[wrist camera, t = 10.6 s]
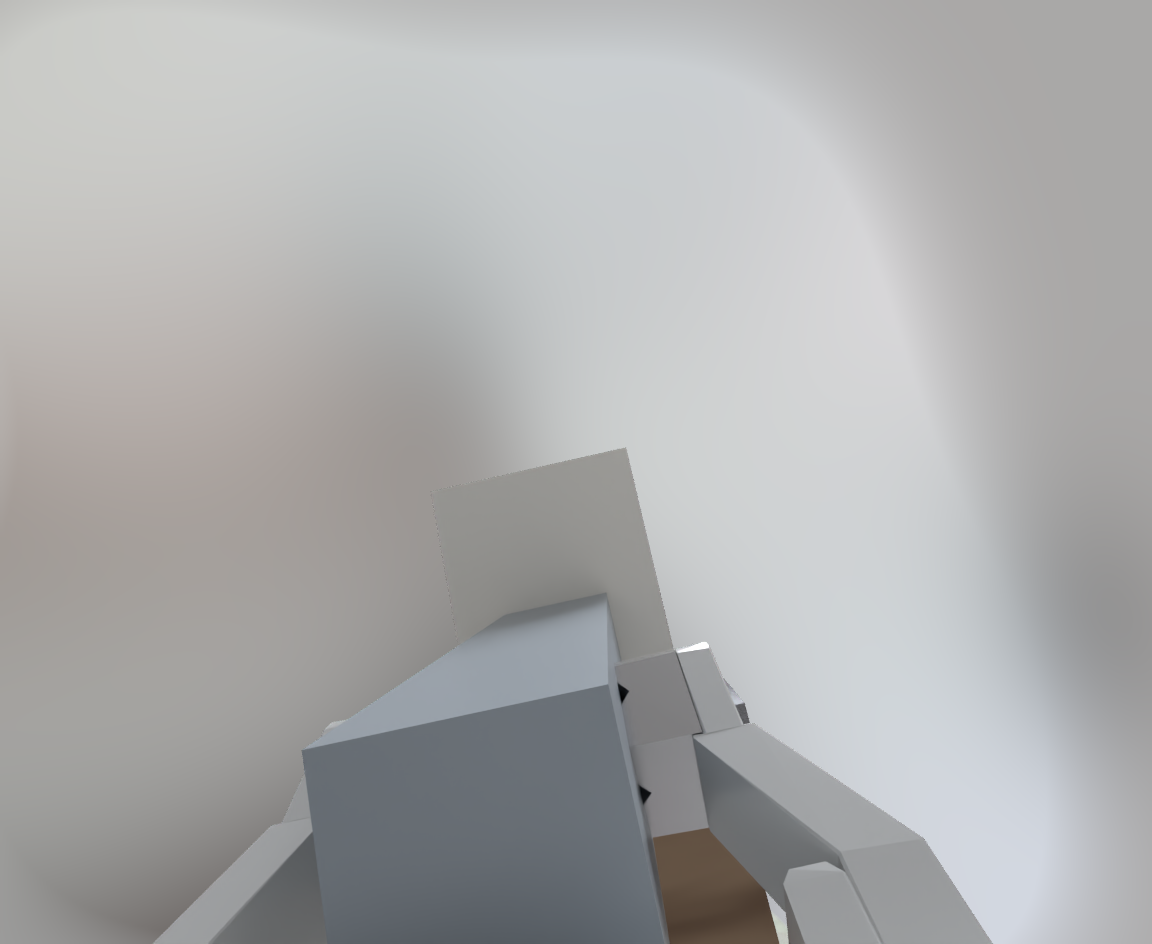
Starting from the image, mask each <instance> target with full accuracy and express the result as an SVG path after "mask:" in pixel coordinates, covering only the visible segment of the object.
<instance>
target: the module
mask: <svg viewBox="0 0 1152 944" xmlns="http://www.w3.org/2000/svg"><path fill="white" fill-rule="evenodd" d="M431 496H432V502H433V508H434V512H435V519H436V525H437V530H438V536H439V541H440V547H441V553H442V558H443V564H444V569H445V575H446V580H447V586H448V592H449V597H450V603H451V609H452V614H453V620H454V625H455V631H456V637H457V642H458V646H457V647H456V648H454V649H453V650H451V651H450V652H448V653H447V654H445V655H444V656H442V657H441V658H440V659H438V660H436V661H435V662H433V663H432V664H430V665H429V666H427V667H426V668H424V669H423V670H421V671H420V672H418V673H417V674H415V675H414V676H412V677H411V678H409V679H408V680H406V681H405V682H403V683H402V684H400V685H399V686H397V687H396V688H394V689H393V690H391V691H390V692H388V693H387V694H385V695H384V696H382V697H381V698H379V699H378V700H376V701H375V702H373V703H372V704H370V705H369V706H367V707H366V708H364V709H363V710H361V711H360V712H358V713H357V714H355V715H354V716H352V717H351V718H349V719H348V720H346V721H345V722H343V723H342V724H340V725H339V726H337V727H336V728H334V729H333V730H331V731H330V732H328V733H327V734H325V735H324V736H322V737H321V738H319V739H318V740H316V741H315V742H313V743H312V744H310V745H309V746H307V747H306V748H304V749H303V750H302V755H303V763H304V770H305V778H306V785H307V793H308V801H309V808H310V816H311V823H312V831H313V838H314V846H315V853H316V861H317V868H318V876H319V884H320V891H321V899H322V906H323V914H324V921H325V929H326V936H327V944H670V941H669V935H668V929H667V923H666V917H665V911H664V904H663V898H662V892H661V886H660V880H659V874H658V867H657V861H656V855H655V849H654V843H653V838H651V835H650V831H649V827H648V822H647V818H646V814H645V810H644V806H643V801H642V796H641V791H640V785H639V784H638V782H637V778H636V774H635V770H634V766H633V762H632V758H631V754H630V749H629V745H628V739H627V734H626V728H625V723H624V717H623V712H622V706H621V705H622V700H621V696H620V692H619V688H618V684H617V678H616V673H615V667H614V663H616V662H620V661H625V660H629V659H633V658H638V657H642V656H647V655H651V654H656V653H660V652H665V651H669V650H674V649H673V644H672V640H671V636H670V631H669V627H668V623H667V619H666V615H665V610H664V606H663V602H662V598H661V593H660V589H659V585H658V581H657V577H656V572H655V568H654V564H653V560H652V555H651V552H650V547H649V543H648V539H647V534H646V530H645V526H644V522H643V518H642V513H641V509H640V505H639V501H638V496H637V492H636V488H635V484H634V479H633V476H632V471H631V467H630V463H629V458H628V454H627V450H626V448H622V449H617V450H613V451H608V452H604V453H599V454H595V455H591V456H586V457H582V458H577V459H573V460H568V461H564V462H559V463H555V464H551V465H546V466H542V467H537V468H533V469H528V470H524V471H520V472H515V473H511V474H506V475H502V476H497V477H493V478H488V479H484V480H480V481H475V482H471V483H466V484H462V485H457V486H453V487H449V488H444V489H440V490H435V491H431Z"/></svg>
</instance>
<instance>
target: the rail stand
mask: <svg viewBox="0 0 1152 944" xmlns="http://www.w3.org/2000/svg"><path fill="white" fill-rule="evenodd" d="M724 681H725V679H724ZM725 683H726V685H727V688H728V690H729V692H730V695H731V697H732V699H733V701H734V704H735V706H736V708H737V711H738V713H739V715H740V718H741V720H742V722H743V724H747V723H749V718H748V715H747V711H746V707H745V703H744V702H743V701H742V700H741V698H740V697H739V696H738V695H737V694H736V692H735V691H734V690H733V689H732V688H731V686H730V685H729V684H728V683H727V682H726V681H725ZM653 843H654V849H655V855H656V861H657V867H658V874H659V880H660V886H661V892H662V898H663V904H664V911H665V917H666V923H667V929H668V935H669V941H670V944H779V941H778V937H777V933H776V929H775V926H774V922H773V918H772V914H771V910H770V907H769V903H768V899H767V895H766V891H765V890H764V889H763V888H762V886H761V885H760V884H759V883H758V882H757V881H756V880H755V879H754V878H753V877H752V876H751V875H750V874H749V872H748V871H747V870H746V869H745V868H744V867H743V866H742V865H741V864H740V863H739V862H738V861H737V860H736V858H735V857H734V856H733V855H732V854H731V853H730V852H729V851H728V850H727V849H726V848H725V847H724V845H723V844H722V843H721V842H720V841H719V840H718V839H717V838H716V837H715V836H714V835H713V834H712V833H711V831H710V828H704V829H698V830H693V831H687V832H681V833H676V834H670V835H664V836H659V837H653Z"/></svg>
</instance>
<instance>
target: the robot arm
mask: <svg viewBox="0 0 1152 944" xmlns="http://www.w3.org/2000/svg"><path fill="white" fill-rule="evenodd" d="M614 667H615V673H616V678H617V684H618V688H619V692H620V696H621V700H622V705H621V706H622V712H623V717H624V723H625V728H626V734H627V739H628V745H629V749H630V754H631V758H632V762H633V766H634V770H635V774H636V778H637V782H638V784H639V785H640V791H641V796H642V801H643V806H644V810H645V814H646V818H647V822H648V827H649V831H650V835H651V838H653V837H659V836H664V835H670V834H676V833H681V832H687V831H693V830H698V829H704V828H710V831H711V833H712V834H713V835H714V836H715V837H716V838H717V839H718V840H719V841H720V842H721V843H722V844H723V845H724V847H725V848H726V849H727V850H728V851H729V852H730V853H731V854H732V855H733V856H734V857H735V858H736V860H737V861H738V862H739V863H740V864H741V865H742V866H743V867H744V868H745V869H746V870H747V871H748V872H749V874H750V875H751V876H752V877H753V878H754V879H755V880H756V881H757V882H758V883H759V884H760V885H761V886H762V888H763V889H764V890H765V891H766V892H767V893H768V894H769V895H770V896H771V897H772V898H773V899H774V900H775V902H776V903H777V904H778V905H779V906H780V907H781V908H782V909H783V910H784V911H785V912H786V917H787V928H788V938H789V944H993V943H992V942H991V940H990V939H989V937H988V936H987V934H986V933H985V931H984V930H983V928H982V927H981V925H980V924H979V922H978V921H977V919H976V917H975V916H974V914H973V913H972V911H971V910H970V908H969V907H968V905H967V904H966V902H965V901H964V899H963V898H962V896H961V895H960V893H959V891H958V890H957V888H956V887H955V885H954V884H953V882H952V881H951V879H950V878H949V876H948V875H947V873H946V872H945V870H944V869H943V867H942V865H941V864H940V862H939V861H938V859H937V858H936V856H935V855H934V853H933V852H932V850H931V849H930V847H929V846H928V844H927V843H926V841H925V839H924V838H922V837H921V836H919V835H918V834H917V833H915V832H914V831H912V830H910V829H909V828H908V827H906V826H905V825H903V824H902V823H900V822H899V821H897V820H896V819H894V818H893V817H892V816H890V815H888V814H887V813H886V812H884V811H882V810H881V809H880V808H878V807H877V806H875V805H874V804H872V803H871V802H869V801H868V800H866V799H865V798H864V797H862V796H861V795H859V794H858V793H856V792H855V791H853V790H852V789H850V788H849V787H847V786H846V785H844V784H843V783H841V782H840V781H838V780H837V779H836V778H834V777H833V776H831V775H830V774H828V773H827V772H825V771H824V770H822V769H821V768H819V767H818V766H816V765H815V764H814V763H812V762H810V761H809V760H808V759H806V758H805V757H803V756H802V755H800V754H799V753H797V752H796V751H794V750H793V749H791V748H790V747H788V746H787V745H786V744H784V743H783V742H781V741H780V740H778V739H777V738H775V737H774V736H772V735H771V734H769V733H768V732H766V731H765V730H763V729H762V728H761V727H759V726H758V725H756V724H755V723H752V724H746V725H744V724H743V722H742V720H741V718H740V715H739V713H738V711H737V708H736V706H735V704H734V701H733V699H732V697H731V695H730V692H729V690H728V688H727V685H726V683H725V681H724V678H723V676H722V674H721V672H720V670H719V667H718V665H717V662H716V660H715V658H714V655H713V653H712V651H711V649H710V646H709V645H708V644H707V643H706V642H702V643H697V644H693V645H689V646H685V647H681V648H676V649H675V651H674V650H669V651H665V652H660V653H656V654H651V655H647V656H642V657H638V658H633V659H629V660H625V661H620V662H616V663H614ZM345 721H346V720H343V721H337V722H332V723H331V724H330V725H329V726H328V727H327V728H325V729H324V731H323V733H322V735H321V737H322V736H324V735H325V734H327V733H328V732H330V731H331V730H333V729H334V728H336V727H337V726H339V725H340V724H342V723H343V722H345ZM321 737H320V738H321ZM153 944H327V936H326V929H325V921H324V914H323V906H322V899H321V891H320V884H319V876H318V868H317V861H316V853H315V846H314V838H313V831H312V823H311V816H310V808H309V801H308V793H307V785H306V778H305V772H304V775H303V777H302V779H301V781H300V783H299V786H298V788H297V790H296V792H295V795H294V797H293V799H292V801H291V803H290V805H289V808H288V810H287V812H286V814H285V817H284V819H283V821H282V823H280V824H276V825H271V826H270V827H269V828H268V829H267V830H266V831H265V832H264V833H263V834H262V835H261V836H260V837H259V838H258V839H257V840H256V841H255V842H254V843H253V844H252V845H251V846H250V847H249V849H247V850H246V851H245V852H244V853H243V854H242V855H241V856H240V857H239V858H238V859H237V860H236V861H235V862H234V863H233V864H232V865H231V866H230V867H229V868H228V869H227V870H226V871H225V872H224V873H223V874H222V875H221V876H220V877H219V878H218V879H217V880H216V881H215V882H214V883H213V884H212V885H211V886H210V887H209V888H208V889H207V890H206V891H205V892H204V893H203V894H202V895H201V896H200V897H199V898H198V899H197V900H196V901H195V902H194V903H193V904H192V905H191V906H190V907H189V908H188V909H187V910H186V911H185V912H184V913H183V914H182V915H181V916H180V917H179V918H178V919H177V920H176V921H175V922H174V923H173V924H172V925H171V926H170V927H169V928H168V929H167V930H166V931H165V932H164V933H163V934H162V935H161V936H160V937H159V938H158V939H157V940H156V941H155V942H154V943H153Z"/></svg>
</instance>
